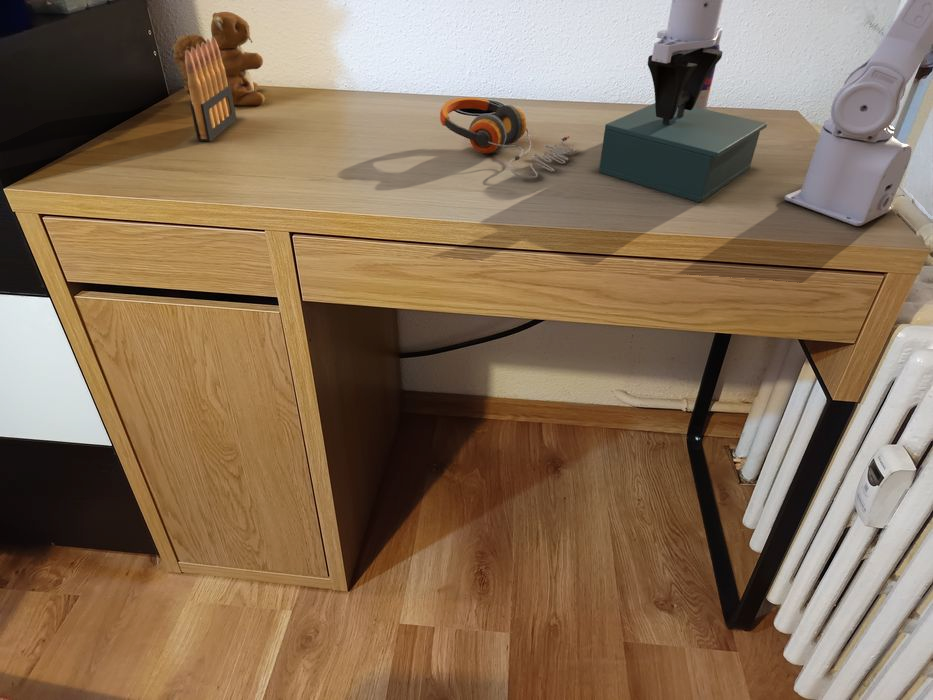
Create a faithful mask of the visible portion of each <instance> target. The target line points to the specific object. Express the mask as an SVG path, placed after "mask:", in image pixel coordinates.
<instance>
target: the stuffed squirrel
mask: <svg viewBox="0 0 933 700" xmlns="http://www.w3.org/2000/svg"><path fill="white" fill-rule="evenodd" d="M211 19H212V20H211V23H210V33H211V37H212V36H213V37H214V38H215V40H216V42H217V44H218V47H219V50H220V55H221V59H222V63H223V65H224V68H225V73H226V78H227V83H228V85H229V86H230V88H231V93H232V98H233V103H234V106H260V105H262V104H264V103H265V99H266V98H265V96H264V95H263V94H262V93H261V92H259V91H258V90H259V89H260V88H259V84H258V83H256V82H254V80H253V78H252V74H251V72H250V71H251V70H258V69H260V68H261V67H262V66H263V64H264V59H263V57H262V56H261V54H259V53H257V52H249V51H244V48H243V46H242V45H244V44H246V43H248V41H250V43H251V44H252V43H253V40H252V38H251V31H250V25H249V23H248V21H247V20H245V19H244V18H243V17H241V16H239V15H238V14H236V13H234V12H231V11H219V12H213V13H212V18H211ZM206 41H207V40H205V38H204V36H202V35H199V34H193V33H192V34H188V35H181V36H180V37H178V38H177V41H176V42H175V43H174V45H172V48H173V50H174V53H173V59H174V62H175V64H176V65H177V66H178V68H179V69H180V71H179V72H178V73H179V75H181V78H182V79H183V80H184V81H183V82H184V86H183V89H184V91H185V92H186V94H187V95H189V96H190V91H189V87H188V76H187V70H186V64H185V52H186V50H188V51H189V53H190V54H191V47H193V48H194V49H195V51H196V46H197V44H198V45H199V46H200V48H201V43H202V42H204V43H205V45H206Z"/></svg>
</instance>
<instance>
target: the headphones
mask: <svg viewBox="0 0 933 700" xmlns="http://www.w3.org/2000/svg"><path fill="white" fill-rule="evenodd" d="M462 109H465V110H466V109H474V110H481V111H491V112H493V113H494V114H491V113H482V114H479V115H478V116H476V117H475V118H474V119H473V120H471V121H472V122H470V124H469V127H468V129H467V128H465V127H463V126H460V125H459V124H457V123H455V122H454V121H452V120H451V119H450V116H449V114H451V113H452V112H455V111H459V110H462ZM439 121H440V124H441V126H442V127H446V128H447V129H448V130H450V131H451V132H453V133H455V134H456V135H458V136H461V137H463V138H465V139H469V142H470V145H471V147H473V149H474V150H475V151H477V152H479V153H481V154H493V153H497V152H498V151H499V150H501V149H502V148H517V149H519V150H520V151H521V152H520V154H519V155H516V156H515V157H513V158H512V159H511V160H510V161H509V162H508V164H507V168H508V169H509V172H511V173H512V174H514V175H516V176H518V177H521V178H524V179H531V180H532V179H536V178H538V177H539V174H538V172H537V170H536V169H535V168H534V167H533V166H538V167H539V168H542V169H545V170H547V171H549V172H550V173H551V172H552V173H554V172H556V170H555V168H553V167H551V166H550V165H549V164H550V163H553V161H555V162H556V163H559V164H562V165H564V164H566V161H567V162H569V161H570V158H569V157H567V156H566V155H567V154H575V153H576V149H575V148H574V147H572V146H571V145H569V144H567V143H566V141H567V140H568V139H570V138H571V136H570V135H568V136H564V137H562V138H561V139H560V143H561V144H562V145H564V146H565V147H568V148H569V149H571V150H572V151H569V150H566V149H565V148H563V147H560V146H558V145H556V144H553V145H552V146H551V145H549V144H544V148H545V149H546V150H548V151H550V152H552V153H553V154H552V155H550V154H548V153H542V156H541V155H539V154H532V159H534V160H535V161H536V162H533V163H531V164H530V168H531V169H532V171H533V173H534V174H535V175H534V176H527V175H523V174H520V173H518V172H516V171H515V170H513V169H512V168H511V164H512V163H513V162H514V161H518V160H520V158H522V157H524V156H525V155H526V154H528V153H529V152H530V150H531V148H532V141H531V138H530V132H529V129H528V128H527V119H526V116H525V114H524V112H523V111H522V109H519V108H518V107H515V106H513V105H511V104H504V105H499V104H496V103H493V102H490V100H488V99H485V98H479V97H471V96H470V97H458V98H454V99H450V100H448V101H447V102H445V103H444V104H443V105H442V107H441V109H440V112H439ZM525 132H526V133H527V134H526V138H527V141H528V142H529V146H528V148H527V150H526V151H525V152H524V149H523V148H522V147H521V146H519V145H512V144H514V143H517V142H518V141H519V139H521V138H522V137H523V136H524V134H525ZM536 157H538V158H539V159H538V158H536ZM540 159H541V160H543V161H544V162H543V161H541V160H540ZM537 162H538V163H537ZM545 162H546V163H545ZM547 163H549V164H547Z"/></svg>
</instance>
